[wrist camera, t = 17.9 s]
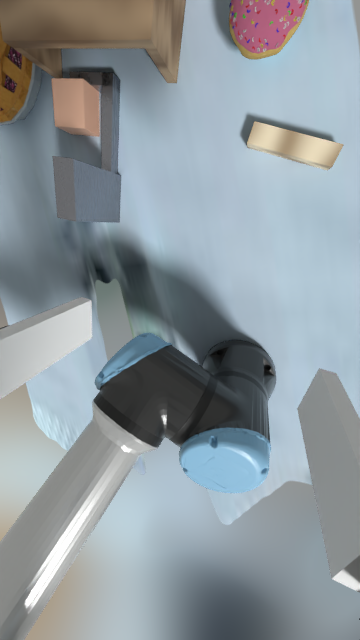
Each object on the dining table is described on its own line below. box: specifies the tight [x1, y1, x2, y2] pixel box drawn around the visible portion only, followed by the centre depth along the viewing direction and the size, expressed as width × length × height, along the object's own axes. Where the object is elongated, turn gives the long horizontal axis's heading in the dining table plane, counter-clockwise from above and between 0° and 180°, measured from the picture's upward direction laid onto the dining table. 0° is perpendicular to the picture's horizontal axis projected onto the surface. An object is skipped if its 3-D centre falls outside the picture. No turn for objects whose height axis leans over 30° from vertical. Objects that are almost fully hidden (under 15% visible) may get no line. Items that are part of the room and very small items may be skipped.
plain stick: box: [247, 121, 343, 170], centre depth 31 cm, size 12×2×2 cm, turn 73°
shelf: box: [0, 0, 186, 83], centre depth 30 cm, size 11×22×9 cm, turn 81°
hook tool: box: [53, 72, 121, 222], centre depth 36 cm, size 21×9×12 cm, turn 171°
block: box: [51, 78, 100, 137], centre depth 38 cm, size 6×6×4 cm
